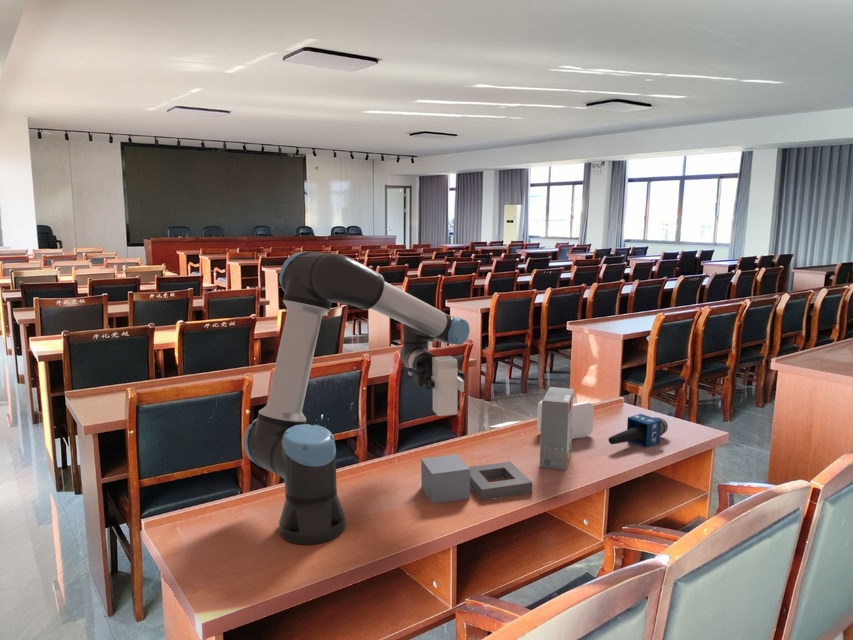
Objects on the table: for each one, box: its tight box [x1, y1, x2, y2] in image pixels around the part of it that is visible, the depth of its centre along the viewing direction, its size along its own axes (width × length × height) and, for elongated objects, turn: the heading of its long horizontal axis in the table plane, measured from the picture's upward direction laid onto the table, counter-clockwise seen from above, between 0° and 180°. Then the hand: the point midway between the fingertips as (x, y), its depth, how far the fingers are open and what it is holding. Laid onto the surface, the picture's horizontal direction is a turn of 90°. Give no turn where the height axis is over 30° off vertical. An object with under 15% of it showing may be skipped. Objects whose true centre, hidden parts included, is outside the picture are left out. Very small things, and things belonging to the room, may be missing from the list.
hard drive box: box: [538, 386, 575, 471], centre depth 179 cm, size 16×8×20 cm, turn 161°
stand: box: [420, 453, 471, 505], centre depth 159 cm, size 10×10×8 cm
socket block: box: [468, 461, 533, 501], centre depth 163 cm, size 14×14×3 cm
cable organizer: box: [536, 396, 594, 440], centre depth 199 cm, size 15×11×12 cm
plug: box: [432, 355, 458, 417], centre depth 154 cm, size 5×5×14 cm
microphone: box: [608, 413, 669, 449], centre depth 191 cm, size 8×8×25 cm
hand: (451, 387), depth 149 cm, fingers closed on plug, 5 cm apart
